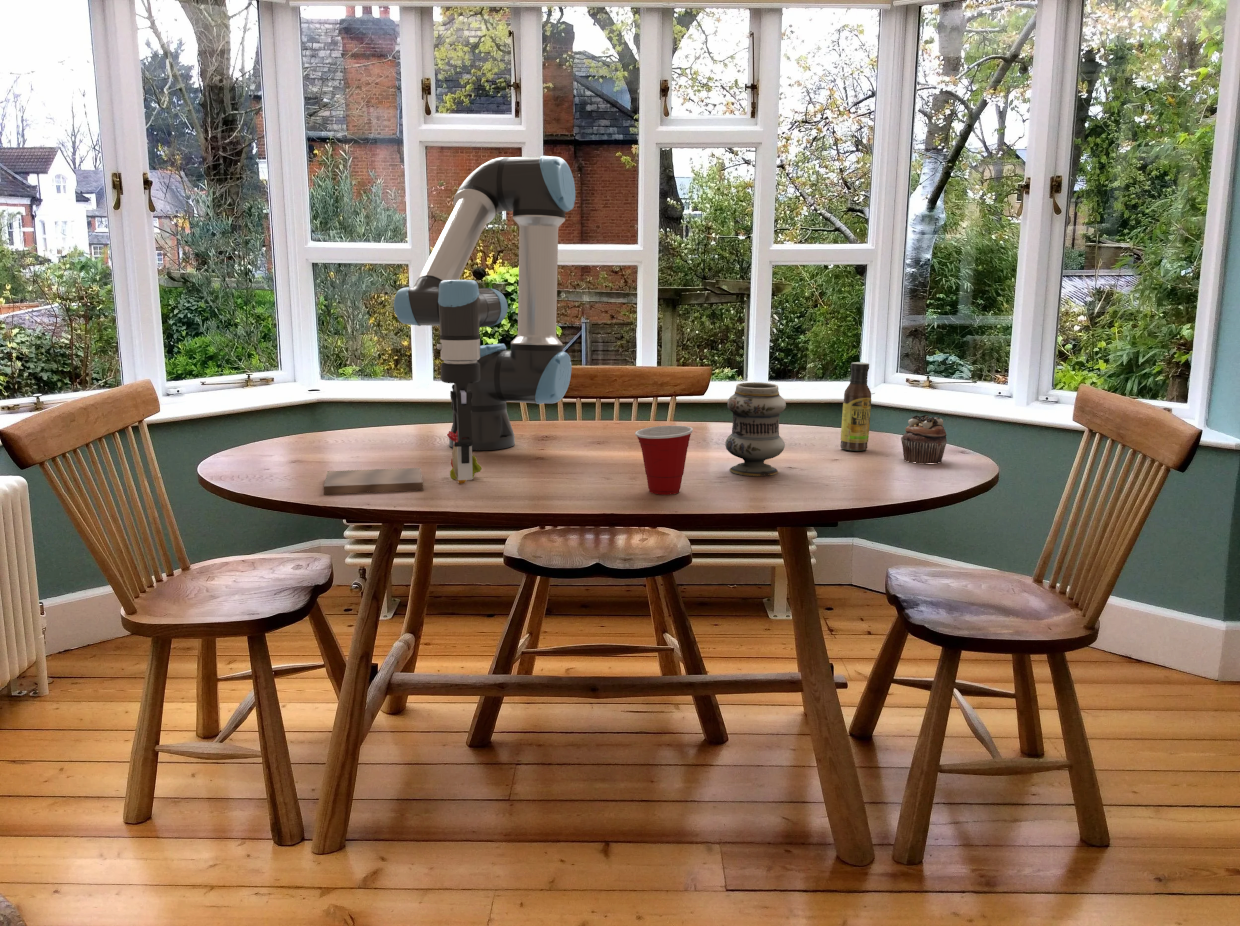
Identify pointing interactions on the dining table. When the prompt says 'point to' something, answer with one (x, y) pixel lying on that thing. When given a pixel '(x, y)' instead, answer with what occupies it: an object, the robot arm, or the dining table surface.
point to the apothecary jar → (755, 427)
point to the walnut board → (373, 481)
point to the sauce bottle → (856, 410)
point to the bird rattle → (454, 460)
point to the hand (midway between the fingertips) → (463, 473)
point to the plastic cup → (664, 456)
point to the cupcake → (924, 440)
